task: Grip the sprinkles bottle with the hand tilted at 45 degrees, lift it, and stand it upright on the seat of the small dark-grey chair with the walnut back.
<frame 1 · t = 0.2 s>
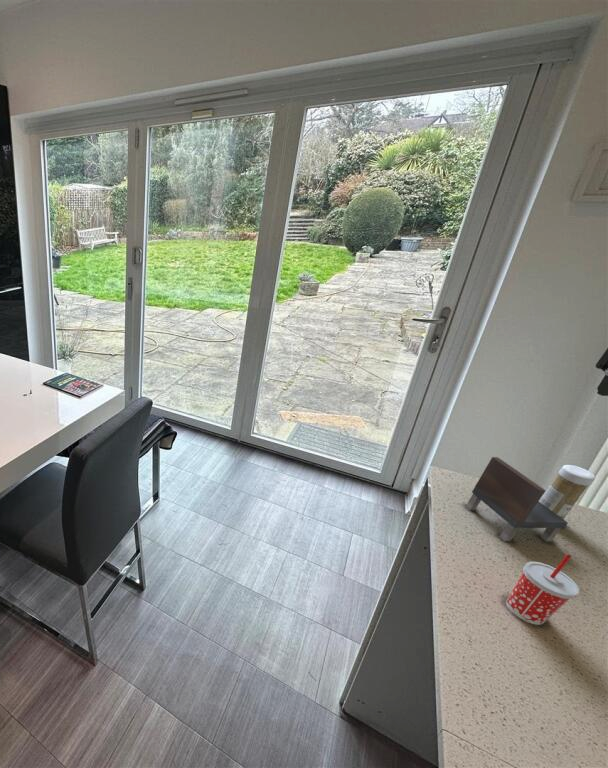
chair: (504, 525, 86), on the countertop
beverage cup: (522, 614, 68), on the countertop
sprinkles bottle: (543, 521, 87), on the countertop
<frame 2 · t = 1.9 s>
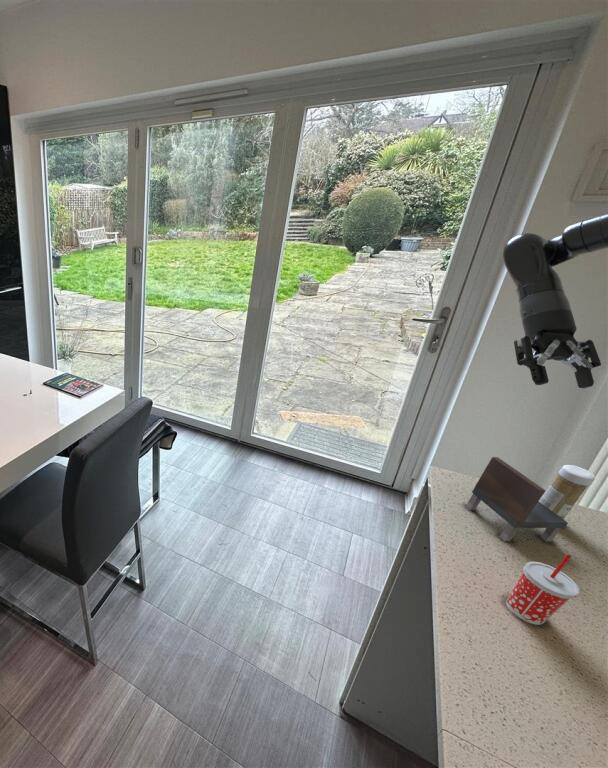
hand: (564, 385, 85), 27 cm above the countertop, tool tilted 45°, fingers open, 8 cm apart
nothing on the countertop moved.
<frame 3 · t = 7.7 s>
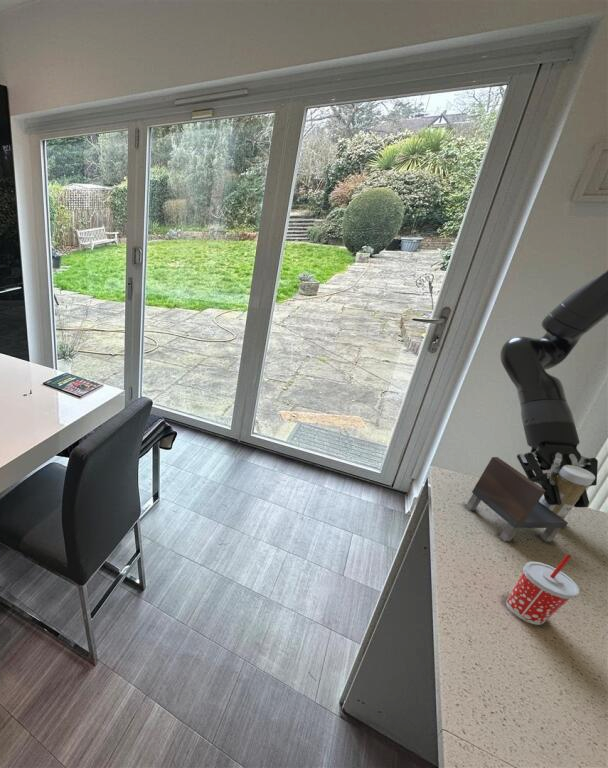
hand: (568, 505, 83), 6 cm above the countertop, tool tilted 45°, fingers closed on sprinkles bottle, 4 cm apart
sprinkles bottle: (543, 521, 87), on the countertop, touching gripper
everything else where it was.
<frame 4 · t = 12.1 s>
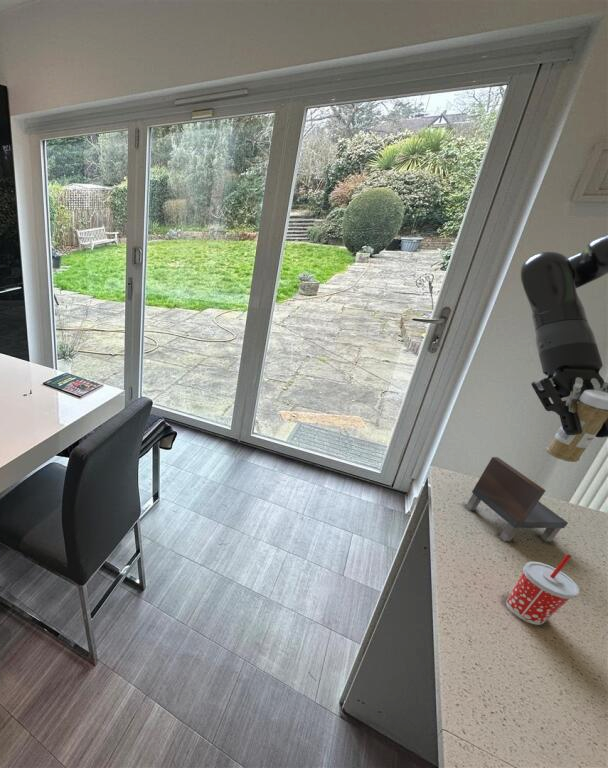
hand: (589, 435, 74), 24 cm above the countertop, tool tilted 45°, fingers closed on sprinkles bottle, 4 cm apart
sprinkles bottle: (560, 456, 79), point 18 cm above the countertop, touching gripper
everything else where it was.
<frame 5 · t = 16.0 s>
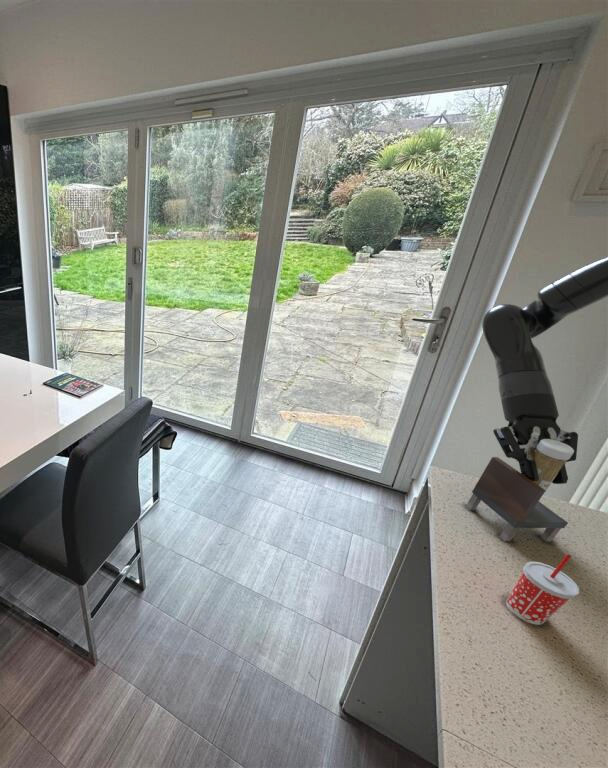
hand: (545, 481, 78), 13 cm above the countertop, tool tilted 45°, fingers closed on sprinkles bottle, 4 cm apart
sprinkles bottle: (521, 499, 83), point 7 cm above the countertop, touching gripper
everything else where it was.
when the fingers open (13 cm above the countertop, at t = 16.5 s): sprinkles bottle stays where it is, resting on chair.
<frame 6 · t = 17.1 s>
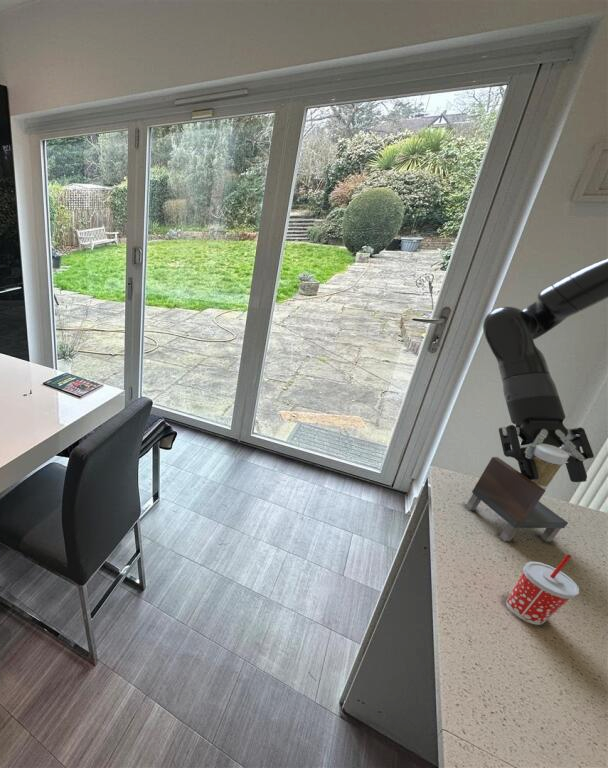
hand: (555, 480, 78), 14 cm above the countertop, tool tilted 45°, fingers open, 8 cm apart
sprinkles bottle: (516, 503, 83), point 6 cm above the countertop, touching chair, gripper
everything else where it was.
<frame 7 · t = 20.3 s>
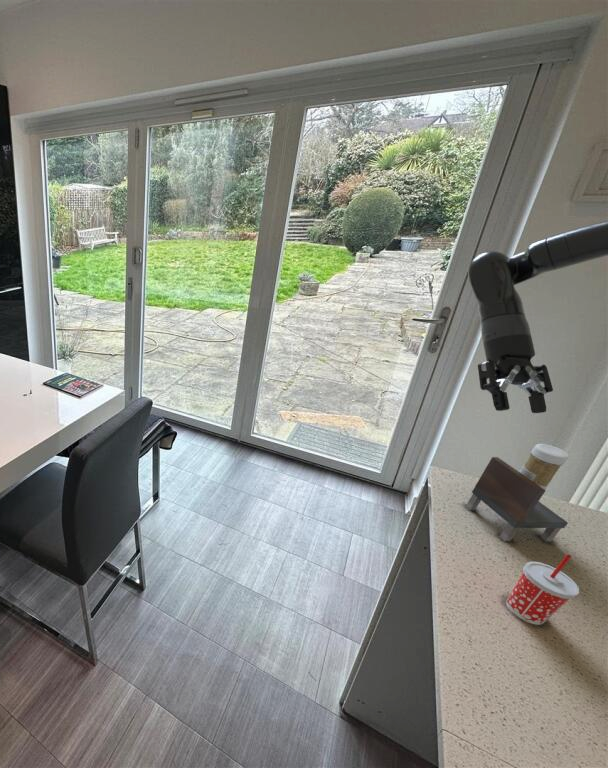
hand: (521, 411, 86), 21 cm above the countertop, tool tilted 40°, fingers open, 8 cm apart
sprinkles bottle: (516, 503, 83), point 6 cm above the countertop, touching chair
everything else where it was.
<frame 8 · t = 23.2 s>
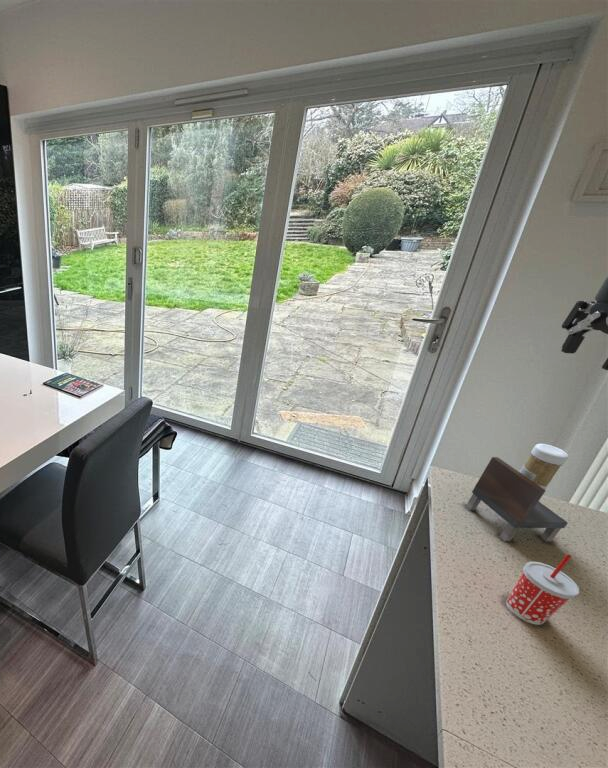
hand: (587, 360, 81), 33 cm above the countertop, tool pointing down, fingers open, 8 cm apart
nothing on the countertop moved.
at the end: sprinkles bottle inside the target area on the chair (0.3 cm from its centre), point 5.8 cm above the chair's base; sprinkles bottle tilted 0°; the gripper is holding nothing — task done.
